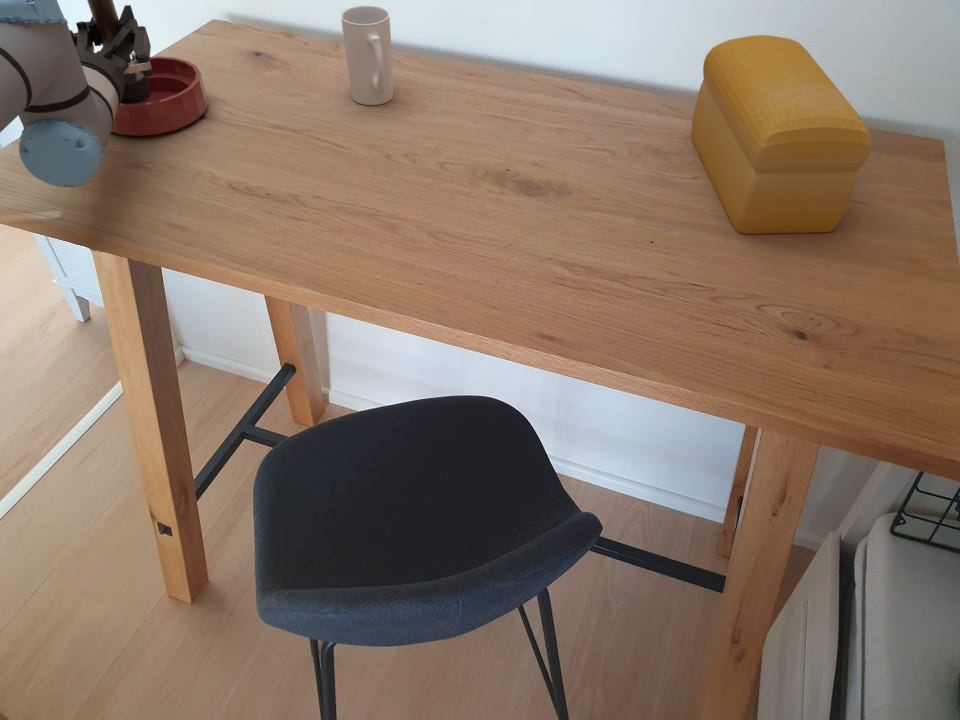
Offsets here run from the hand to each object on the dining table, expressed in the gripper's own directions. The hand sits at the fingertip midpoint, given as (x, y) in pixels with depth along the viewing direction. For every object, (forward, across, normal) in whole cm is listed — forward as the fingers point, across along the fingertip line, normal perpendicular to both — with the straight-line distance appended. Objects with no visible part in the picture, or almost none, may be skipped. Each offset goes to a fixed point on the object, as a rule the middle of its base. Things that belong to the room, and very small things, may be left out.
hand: (116, 16), depth 106 cm
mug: (-6, +34, -12) cm, 37 cm away
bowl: (-5, +2, -12) cm, 13 cm away
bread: (-36, +82, -11) cm, 90 cm away
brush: (-5, 0, -9) cm, 11 cm away
